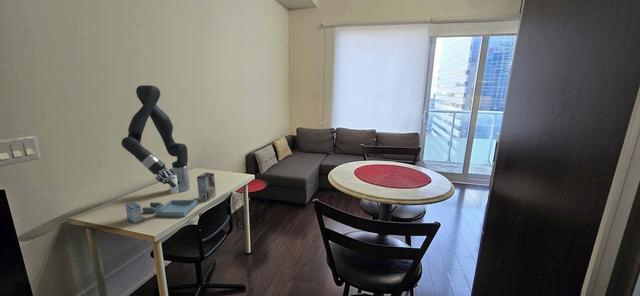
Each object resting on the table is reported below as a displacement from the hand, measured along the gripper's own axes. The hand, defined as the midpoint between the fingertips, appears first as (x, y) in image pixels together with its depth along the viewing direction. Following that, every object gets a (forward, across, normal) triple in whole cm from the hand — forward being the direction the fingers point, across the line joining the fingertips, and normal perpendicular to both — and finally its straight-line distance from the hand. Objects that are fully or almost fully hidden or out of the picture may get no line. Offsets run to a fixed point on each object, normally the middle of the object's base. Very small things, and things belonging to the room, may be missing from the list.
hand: (177, 185), depth 154 cm
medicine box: (-2, -12, +24) cm, 27 cm away
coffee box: (+17, +18, +6) cm, 26 cm away
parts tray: (+10, 0, +12) cm, 16 cm away
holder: (0, 0, +23) cm, 23 cm away
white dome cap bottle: (+2, 0, +5) cm, 5 cm away
